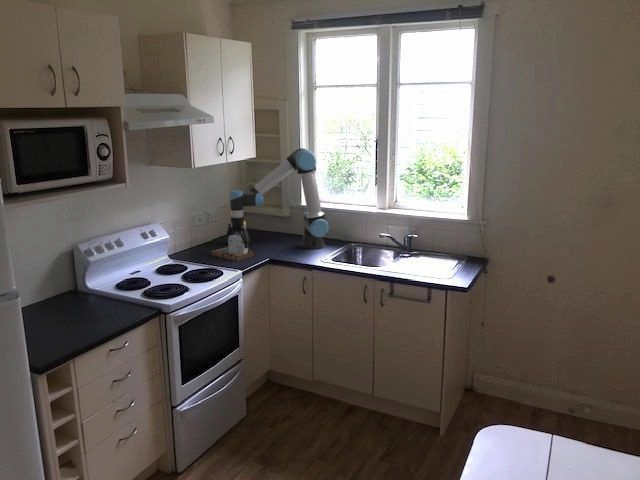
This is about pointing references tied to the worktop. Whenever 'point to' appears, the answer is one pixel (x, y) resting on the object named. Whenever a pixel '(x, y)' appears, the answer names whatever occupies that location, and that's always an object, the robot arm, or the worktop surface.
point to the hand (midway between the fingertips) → (238, 251)
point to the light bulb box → (235, 244)
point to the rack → (234, 257)
